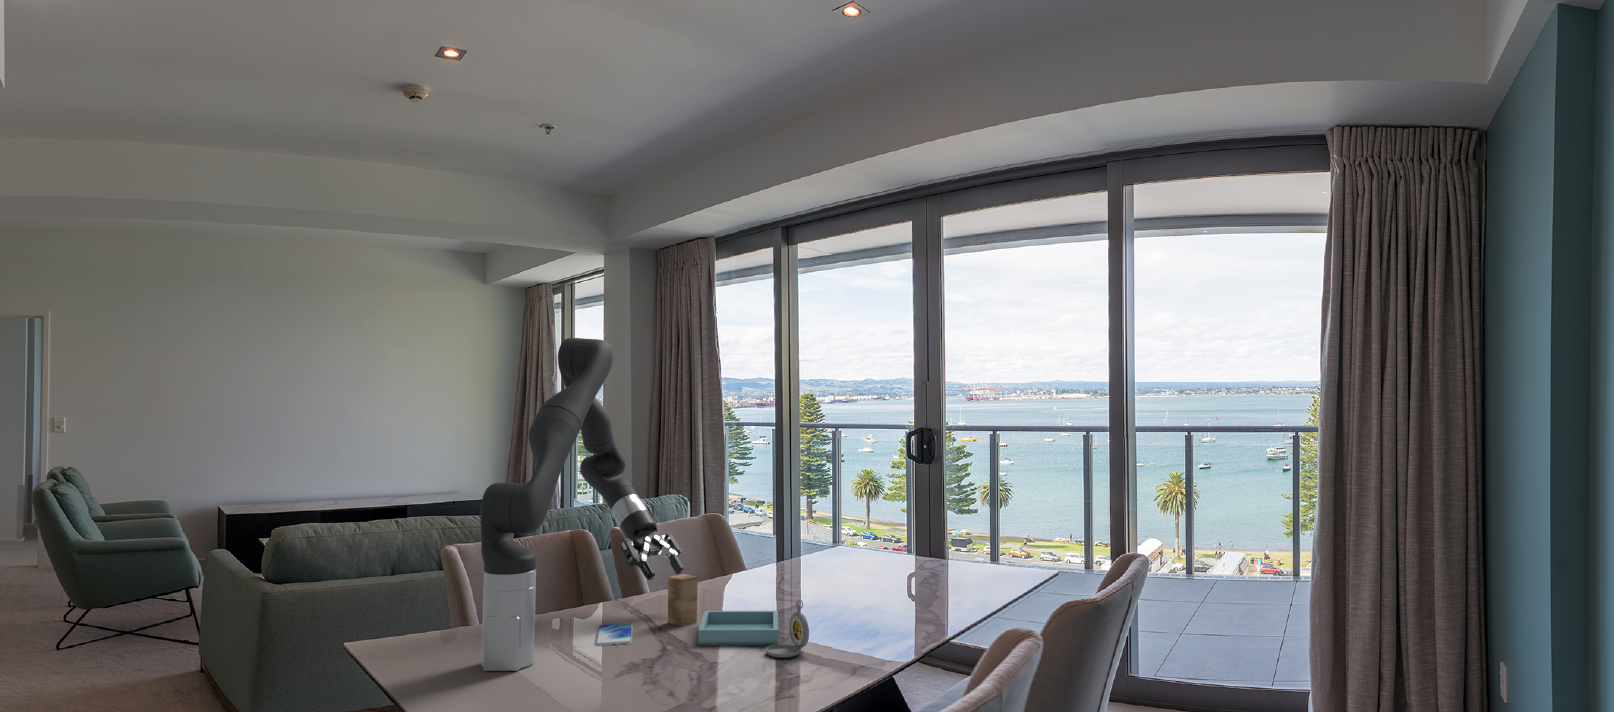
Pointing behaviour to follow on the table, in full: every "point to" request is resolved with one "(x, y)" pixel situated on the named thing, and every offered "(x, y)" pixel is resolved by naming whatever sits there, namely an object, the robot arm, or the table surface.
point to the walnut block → (682, 599)
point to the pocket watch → (793, 637)
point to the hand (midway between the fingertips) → (666, 574)
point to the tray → (738, 628)
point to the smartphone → (614, 634)
